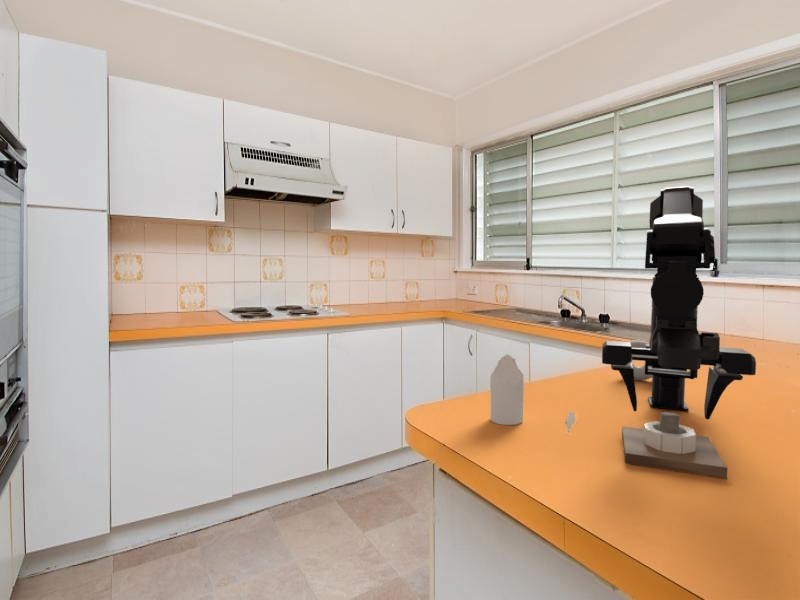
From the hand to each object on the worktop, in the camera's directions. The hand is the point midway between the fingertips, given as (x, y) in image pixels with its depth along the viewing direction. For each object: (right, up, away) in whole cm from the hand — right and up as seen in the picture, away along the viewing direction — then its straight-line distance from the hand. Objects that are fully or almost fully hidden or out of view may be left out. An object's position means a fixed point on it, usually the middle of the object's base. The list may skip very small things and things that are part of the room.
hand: (669, 414), depth 67 cm
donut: (+19, -3, +46) cm, 50 cm away
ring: (0, -5, 0) cm, 5 cm away
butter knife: (-12, -6, +8) cm, 16 cm away
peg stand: (0, -6, +1) cm, 6 cm away
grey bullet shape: (-20, -5, +16) cm, 26 cm away
